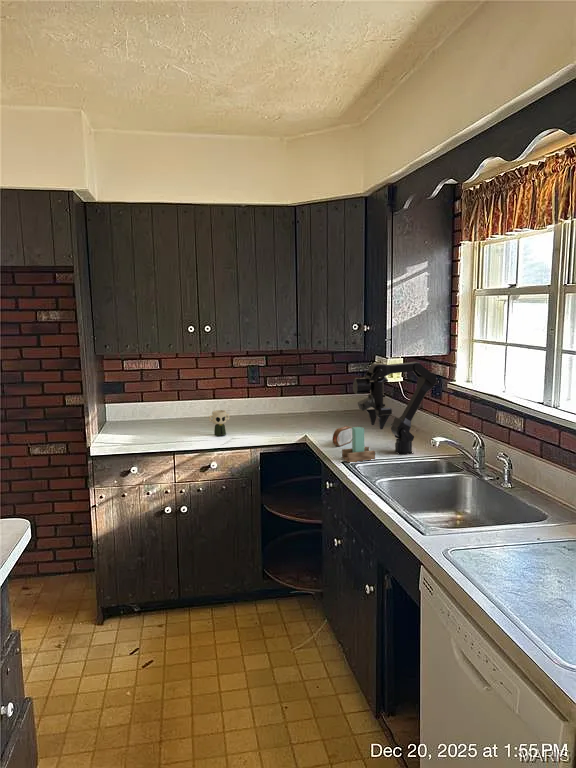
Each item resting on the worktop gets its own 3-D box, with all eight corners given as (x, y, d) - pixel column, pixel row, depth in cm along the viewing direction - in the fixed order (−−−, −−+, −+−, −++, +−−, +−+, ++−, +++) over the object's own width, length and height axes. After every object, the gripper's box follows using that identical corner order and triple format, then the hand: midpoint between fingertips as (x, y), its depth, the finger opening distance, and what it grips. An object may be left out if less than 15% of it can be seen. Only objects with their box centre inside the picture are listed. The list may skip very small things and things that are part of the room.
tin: (349, 440, 283) (349, 424, 281) (354, 441, 281) (354, 424, 280) (332, 447, 271) (331, 430, 270) (337, 448, 269) (337, 430, 268)
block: (360, 455, 252) (360, 426, 250) (364, 457, 248) (364, 428, 246) (352, 456, 251) (352, 427, 249) (355, 458, 247) (355, 429, 245)
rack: (367, 455, 255) (367, 446, 255) (374, 460, 247) (374, 451, 247) (342, 458, 252) (342, 449, 252) (348, 463, 244) (348, 454, 244)
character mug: (211, 438, 296) (210, 413, 295) (208, 435, 303) (207, 411, 301) (232, 435, 301) (231, 411, 299) (228, 432, 307) (227, 409, 305)
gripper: (351, 390, 257) (352, 424, 260) (368, 396, 240) (368, 433, 242) (374, 388, 260) (375, 422, 263) (392, 395, 242) (392, 430, 245)
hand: (377, 427), depth 253 cm, fingers open, 9 cm apart
